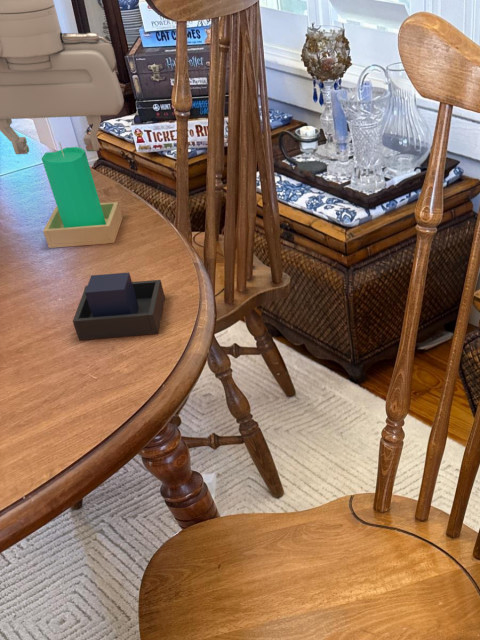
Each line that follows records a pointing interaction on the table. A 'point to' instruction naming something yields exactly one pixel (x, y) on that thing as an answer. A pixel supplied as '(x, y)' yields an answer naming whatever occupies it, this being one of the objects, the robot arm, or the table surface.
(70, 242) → the cream tray
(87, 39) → the robot arm
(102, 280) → the navy block
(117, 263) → the table surface
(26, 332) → the table surface
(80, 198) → the candle
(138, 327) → the slate tray
